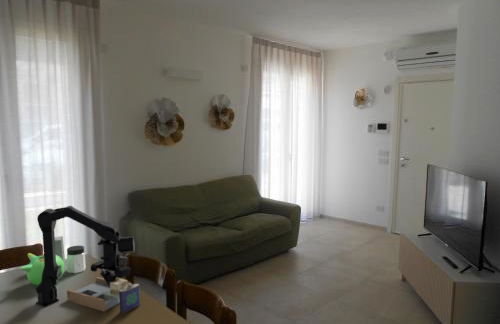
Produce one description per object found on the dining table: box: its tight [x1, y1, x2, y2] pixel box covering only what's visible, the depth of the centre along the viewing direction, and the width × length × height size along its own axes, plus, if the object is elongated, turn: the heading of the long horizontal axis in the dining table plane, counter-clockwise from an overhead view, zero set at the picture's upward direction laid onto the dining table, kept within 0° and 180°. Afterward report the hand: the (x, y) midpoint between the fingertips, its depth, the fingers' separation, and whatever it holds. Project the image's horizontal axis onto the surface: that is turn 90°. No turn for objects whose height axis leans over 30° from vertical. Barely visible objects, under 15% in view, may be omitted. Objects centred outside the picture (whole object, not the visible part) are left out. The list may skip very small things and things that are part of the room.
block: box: [110, 278, 128, 296], centre depth 160 cm, size 5×5×5 cm
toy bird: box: [19, 252, 65, 286], centre depth 176 cm, size 18×17×15 cm
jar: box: [66, 245, 87, 274], centre depth 192 cm, size 9×8×12 cm
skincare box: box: [55, 236, 66, 266], centre depth 197 cm, size 8×7×16 cm
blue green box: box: [119, 282, 141, 314], centre depth 151 cm, size 9×3×11 cm, turn 144°
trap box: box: [66, 276, 129, 312], centre depth 161 cm, size 16×22×4 cm
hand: (111, 287), depth 163 cm, fingers closed
